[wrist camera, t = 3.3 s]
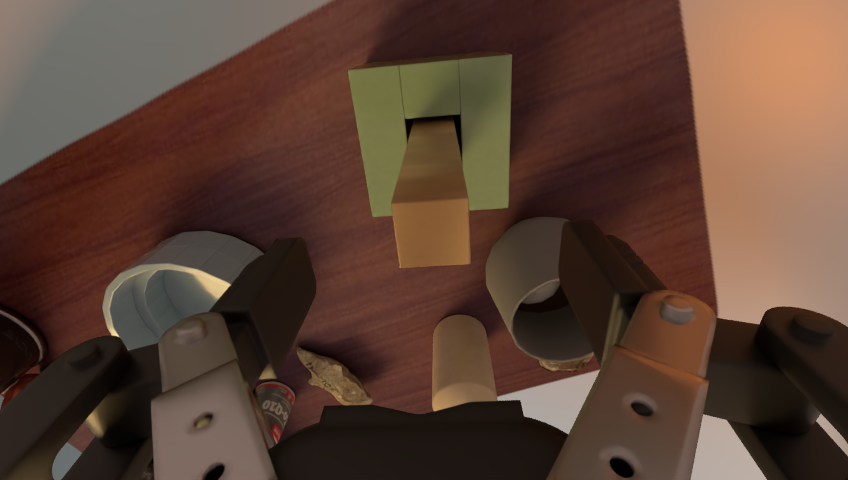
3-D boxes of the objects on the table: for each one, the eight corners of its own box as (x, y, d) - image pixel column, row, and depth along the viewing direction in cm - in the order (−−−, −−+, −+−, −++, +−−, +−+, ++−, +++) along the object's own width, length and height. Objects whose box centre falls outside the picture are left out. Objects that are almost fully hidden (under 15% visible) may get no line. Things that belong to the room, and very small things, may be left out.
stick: (419, 142, 29) (399, 268, 14) (416, 108, 28) (390, 203, 12) (452, 140, 29) (470, 264, 13) (451, 105, 28) (468, 197, 12)
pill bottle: (304, 397, 44) (277, 468, 37) (277, 411, 46) (246, 483, 39) (274, 374, 43) (241, 444, 35) (247, 389, 44) (209, 460, 37)
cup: (536, 305, 37) (567, 389, 28) (459, 259, 34) (467, 335, 26) (609, 235, 33) (672, 308, 24) (528, 178, 30) (565, 236, 22)
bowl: (186, 346, 41) (149, 392, 36) (125, 233, 34) (68, 269, 29) (311, 341, 40) (292, 387, 35) (274, 223, 33) (244, 258, 28)
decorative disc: (599, 320, 38) (603, 326, 37) (589, 367, 40) (592, 374, 39) (533, 321, 38) (536, 327, 37) (528, 367, 41) (530, 374, 40)
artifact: (299, 345, 37) (373, 408, 38) (317, 324, 39) (387, 384, 40) (276, 367, 42) (343, 423, 43) (293, 346, 44) (357, 400, 45)
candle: (460, 304, 37) (467, 388, 28) (497, 334, 39) (514, 421, 30) (422, 334, 39) (418, 420, 30) (458, 361, 41) (464, 450, 32)
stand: (383, 186, 31) (372, 217, 26) (364, 63, 27) (347, 70, 21) (496, 178, 31) (508, 208, 25) (497, 50, 26) (512, 54, 21)
